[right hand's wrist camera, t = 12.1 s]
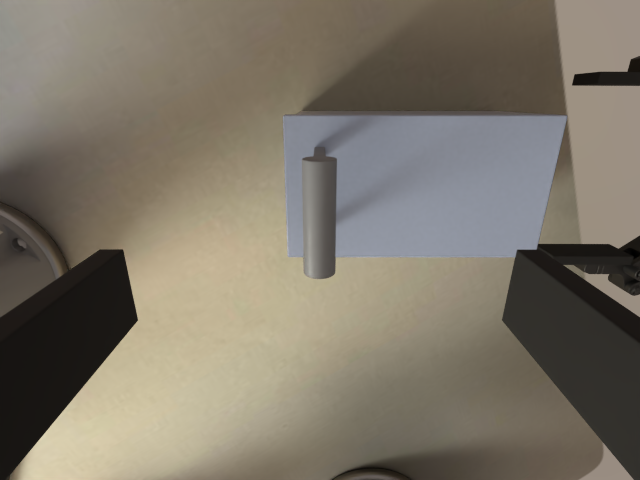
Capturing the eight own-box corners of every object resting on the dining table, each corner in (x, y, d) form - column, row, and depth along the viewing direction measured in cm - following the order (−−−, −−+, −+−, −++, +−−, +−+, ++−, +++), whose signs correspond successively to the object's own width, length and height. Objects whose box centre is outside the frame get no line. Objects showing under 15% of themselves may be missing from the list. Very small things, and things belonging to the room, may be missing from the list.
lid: (289, 250, 28) (277, 308, 20) (284, 114, 24) (268, 121, 17) (526, 250, 28) (605, 308, 20) (556, 114, 24) (666, 121, 17)
